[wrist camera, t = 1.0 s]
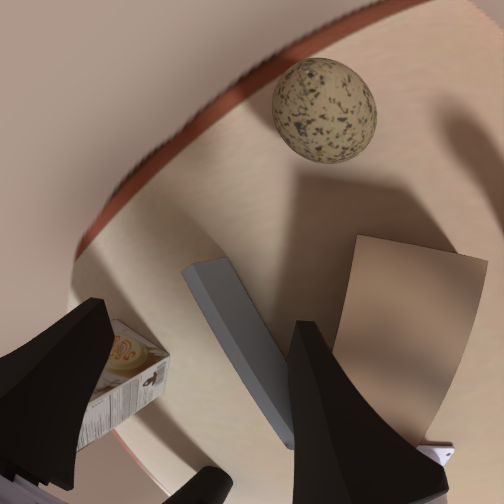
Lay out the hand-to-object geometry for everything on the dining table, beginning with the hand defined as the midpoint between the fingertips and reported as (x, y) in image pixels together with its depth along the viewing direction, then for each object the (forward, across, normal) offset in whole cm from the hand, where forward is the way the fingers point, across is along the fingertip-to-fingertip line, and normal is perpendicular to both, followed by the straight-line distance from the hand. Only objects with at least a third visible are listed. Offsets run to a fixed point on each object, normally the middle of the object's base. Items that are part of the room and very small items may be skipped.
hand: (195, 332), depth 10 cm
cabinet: (+8, -14, +8) cm, 18 cm away
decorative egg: (+17, -8, -6) cm, 19 cm away
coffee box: (+13, +11, +20) cm, 26 cm away
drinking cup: (+3, 0, +33) cm, 34 cm away
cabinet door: (+10, -3, +12) cm, 16 cm away
